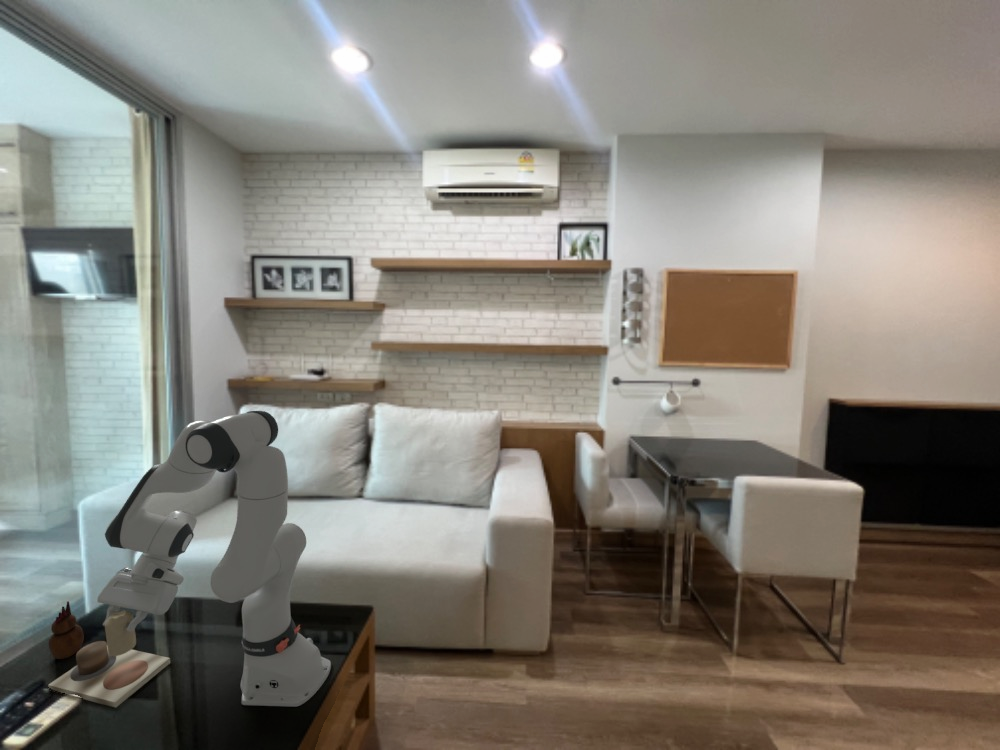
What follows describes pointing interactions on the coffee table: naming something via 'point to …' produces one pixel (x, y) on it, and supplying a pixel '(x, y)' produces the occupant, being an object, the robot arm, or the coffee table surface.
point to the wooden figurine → (65, 635)
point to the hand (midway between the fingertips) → (117, 628)
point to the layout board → (108, 674)
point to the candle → (119, 633)
